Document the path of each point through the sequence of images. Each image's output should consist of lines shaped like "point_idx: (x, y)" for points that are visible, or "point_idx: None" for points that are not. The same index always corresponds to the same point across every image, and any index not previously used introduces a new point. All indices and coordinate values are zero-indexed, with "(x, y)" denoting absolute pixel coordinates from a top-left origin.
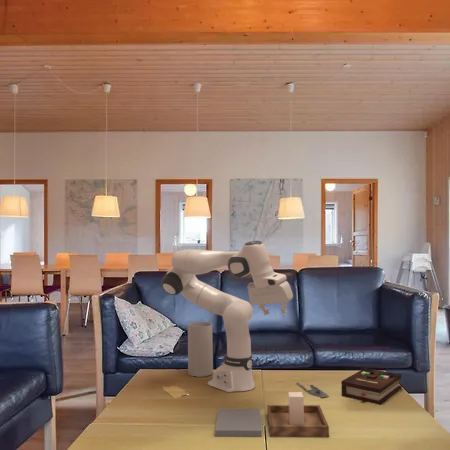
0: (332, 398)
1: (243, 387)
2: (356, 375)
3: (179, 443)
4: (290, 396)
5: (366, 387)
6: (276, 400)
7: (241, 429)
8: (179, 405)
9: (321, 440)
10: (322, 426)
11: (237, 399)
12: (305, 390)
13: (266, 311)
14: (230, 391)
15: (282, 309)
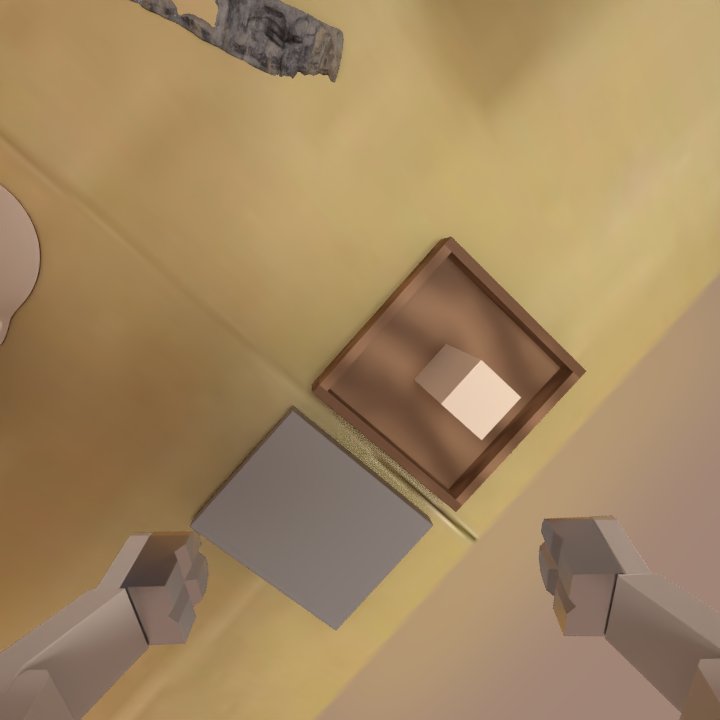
0: (367, 42)
1: (22, 280)
2: None
3: (305, 713)
4: (482, 435)
5: None
6: (224, 251)
7: (384, 566)
8: (19, 583)
9: (564, 399)
10: (571, 386)
11: (107, 369)
12: (215, 44)
13: (189, 610)
14: (4, 336)
15: (604, 628)
